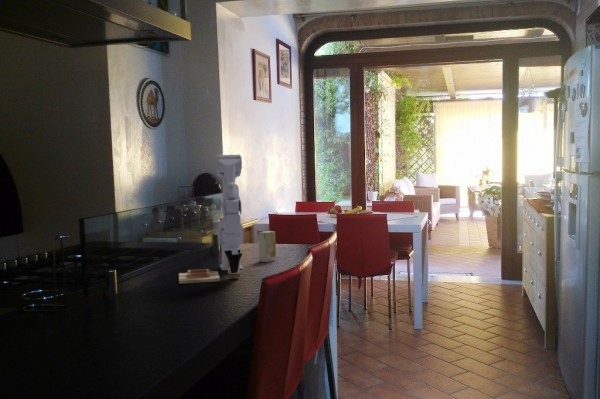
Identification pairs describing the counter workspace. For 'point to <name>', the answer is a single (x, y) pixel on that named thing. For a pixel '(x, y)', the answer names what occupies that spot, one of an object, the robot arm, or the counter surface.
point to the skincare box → (267, 246)
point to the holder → (198, 276)
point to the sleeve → (232, 275)
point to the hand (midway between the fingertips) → (233, 271)
